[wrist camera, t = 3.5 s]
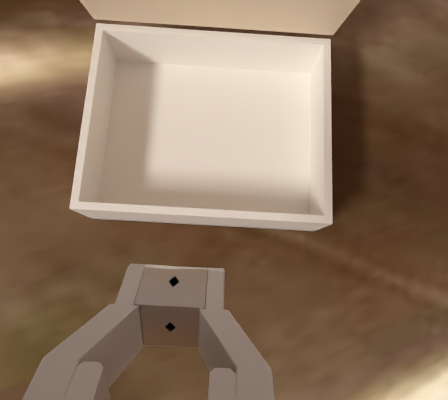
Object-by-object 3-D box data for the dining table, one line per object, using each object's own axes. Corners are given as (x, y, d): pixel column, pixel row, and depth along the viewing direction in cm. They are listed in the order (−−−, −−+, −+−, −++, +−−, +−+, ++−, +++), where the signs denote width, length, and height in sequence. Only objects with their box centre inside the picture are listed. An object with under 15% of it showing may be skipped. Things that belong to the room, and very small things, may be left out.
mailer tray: (313, 231, 31) (332, 223, 26) (92, 218, 31) (69, 208, 26) (313, 71, 34) (330, 39, 30) (113, 58, 34) (96, 23, 29)
